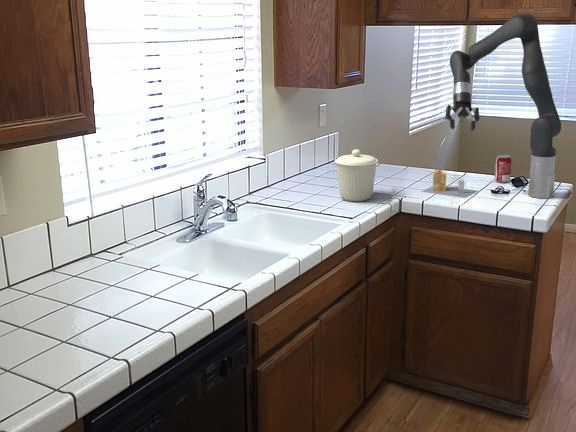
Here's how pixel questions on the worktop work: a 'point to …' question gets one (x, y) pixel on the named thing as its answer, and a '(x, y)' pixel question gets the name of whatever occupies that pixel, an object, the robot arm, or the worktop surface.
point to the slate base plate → (451, 192)
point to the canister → (356, 176)
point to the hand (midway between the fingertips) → (462, 129)
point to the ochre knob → (439, 180)
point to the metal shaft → (461, 187)
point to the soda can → (503, 169)
